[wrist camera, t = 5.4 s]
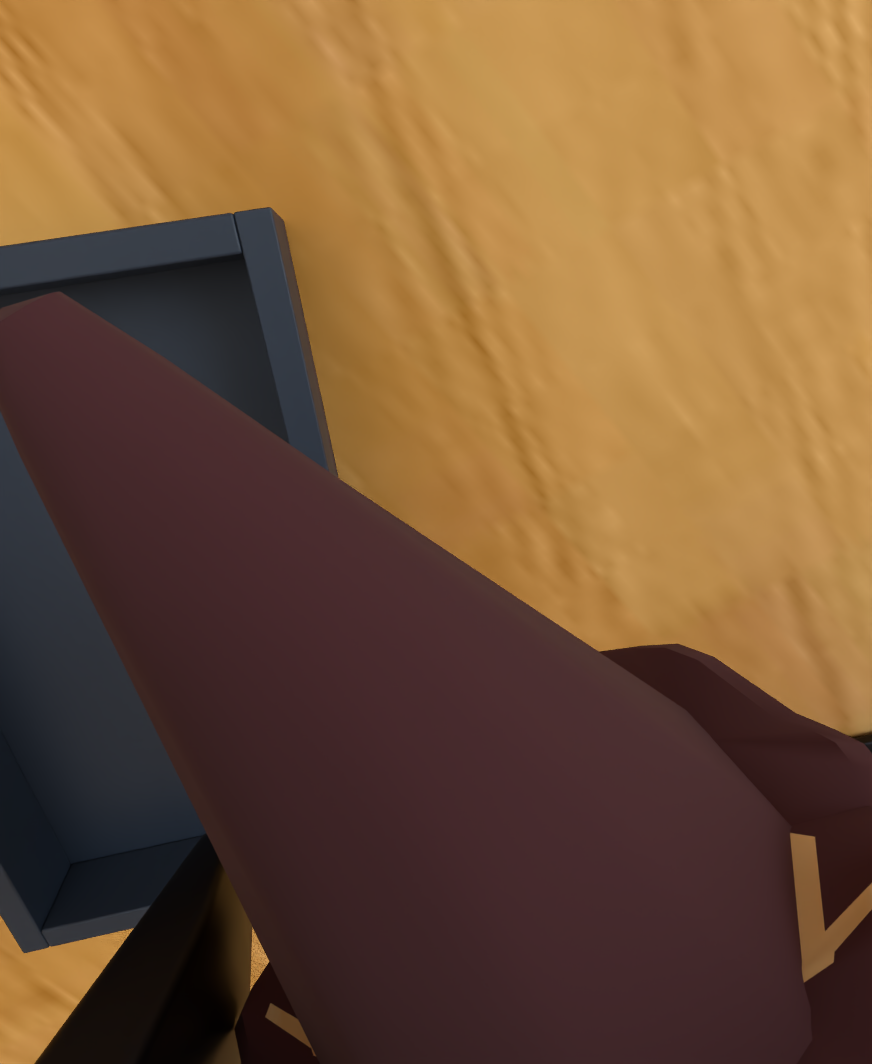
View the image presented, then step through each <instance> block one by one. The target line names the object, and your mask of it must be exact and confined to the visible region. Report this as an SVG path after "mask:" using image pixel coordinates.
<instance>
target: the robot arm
mask: <svg viewBox="0 0 872 1064" xmlns="http://www.w3.org/2000/svg"><path fill="white" fill-rule="evenodd" d="M853 739H855V740H857V741H859V742H861V743H863V744H865V746H866V747H867V748H868V749H869V750H870V752H871V753H872V734H870V735H866V736H862V737H857V738H853ZM251 947H252V925H251V923H250V921H249V919H248V917H247V915H246V913H245V910H244V908H243V906H242V904H241V902H240V900H239V898H238V896H237V894H236V892H235V890H234V888H233V886H232V884H231V882H230V880H229V878H228V876H227V874H226V872H225V870H224V868H223V866H222V864H221V862H220V860H219V858H218V856H217V854H216V852H215V849H214V847H213V845H212V843H211V841H210V839H209V837H208V835H207V833H205V834H204V835H203V836H202V837H201V838H200V839H199V841H198V842H197V843H196V845H195V846H194V848H193V849H192V850H191V852H190V853H189V854H188V856H187V857H186V858H185V860H184V861H183V862H182V864H181V865H180V867H179V868H178V869H177V871H176V872H175V873H174V875H173V876H172V877H171V879H170V880H169V881H168V883H167V884H166V886H165V887H164V888H163V890H162V891H161V892H160V894H159V895H158V896H157V898H156V899H155V901H154V902H153V903H152V905H151V906H150V907H149V909H148V910H147V911H146V913H145V914H144V915H143V917H142V918H141V920H140V921H139V922H138V924H137V925H136V926H135V928H134V929H133V930H132V932H131V933H130V934H129V936H128V937H127V939H126V940H125V941H124V943H123V944H122V945H121V947H120V948H119V949H118V951H117V952H116V954H115V955H114V956H113V958H112V959H111V960H110V962H109V963H108V964H107V966H106V967H105V968H104V970H103V971H102V973H101V974H100V975H99V977H98V978H97V979H96V981H95V982H94V983H93V985H92V986H91V987H90V989H89V990H88V992H87V993H86V994H85V996H84V997H83V998H82V1000H81V1001H80V1002H79V1004H78V1005H77V1006H76V1008H75V1009H74V1011H73V1012H72V1013H71V1015H70V1016H69V1017H68V1019H67V1020H66V1021H65V1023H64V1024H63V1026H62V1027H61V1028H60V1030H59V1031H58V1032H57V1034H56V1035H55V1036H54V1038H53V1039H52V1040H51V1042H50V1043H49V1045H48V1046H47V1047H46V1049H45V1050H44V1051H43V1053H42V1054H41V1055H40V1057H39V1058H38V1059H37V1061H36V1062H35V1064H241V1060H240V1055H239V1050H238V1045H237V1040H236V1035H235V1030H234V1028H235V1026H236V1023H237V1021H238V1019H239V1016H240V1014H241V1012H242V1009H243V1007H244V1004H245V1002H246V1000H247V998H248V996H249V994H250V976H251Z"/></svg>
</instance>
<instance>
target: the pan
mask: <svg viewBox="0 0 872 1064" xmlns="http://www.w3.org/2000/svg"><path fill="white" fill-rule="evenodd" d="M59 291H60V292H62V293H63V294H65V295H67V296H68V297H70V298H71V299H73V300H74V301H76V302H78V303H79V304H81V305H82V306H84V307H85V308H87V309H89V310H90V311H92V312H93V313H95V314H97V315H98V316H100V317H101V318H103V319H104V320H106V321H108V322H109V323H111V324H112V325H114V326H115V327H117V328H119V329H120V330H122V331H123V332H125V333H127V334H128V335H130V336H131V337H133V338H134V339H136V340H138V341H139V342H141V343H142V344H144V345H145V346H147V347H149V348H150V349H152V350H153V351H155V352H156V353H158V354H160V355H161V356H163V357H164V358H166V359H167V360H169V361H170V362H172V363H173V364H174V365H176V366H177V367H179V368H180V369H182V370H183V371H185V372H186V373H187V374H189V375H190V376H192V377H193V378H195V379H196V380H197V381H199V382H200V383H202V384H203V385H205V386H206V387H208V388H209V389H210V390H212V391H213V392H215V393H216V394H218V395H219V396H221V397H222V398H223V399H225V400H226V401H228V402H229V403H231V404H232V405H234V406H235V407H236V408H238V409H239V410H241V411H242V412H244V413H245V414H247V415H248V416H249V417H251V418H252V419H254V420H255V421H257V422H258V423H260V424H261V425H262V426H264V427H265V428H267V429H268V430H270V431H271V432H272V433H274V434H275V435H277V436H278V437H280V438H281V439H283V440H284V441H285V442H287V443H288V444H290V445H291V446H293V447H294V448H296V449H297V450H298V451H300V452H301V453H303V454H304V455H306V456H307V457H309V458H310V459H311V460H313V461H314V462H316V463H317V464H319V465H320V466H322V467H323V468H324V469H326V470H327V471H329V472H330V473H332V474H333V475H334V476H336V477H337V478H338V473H337V469H336V464H335V459H334V454H333V450H332V445H331V440H330V436H329V431H328V426H327V422H326V417H325V412H324V408H323V403H322V398H321V394H320V389H319V384H318V379H317V375H316V370H315V365H314V361H313V356H312V351H311V347H310V342H309V337H308V333H307V328H306V323H305V319H304V314H303V309H302V304H301V300H300V295H299V290H298V286H297V281H296V276H295V272H294V267H293V262H292V258H291V253H290V248H289V244H288V239H287V234H286V230H285V225H284V221H283V220H282V219H281V217H280V216H279V215H278V214H277V213H276V212H275V211H274V210H273V209H272V208H270V207H267V208H260V209H253V210H247V211H240V212H235V213H234V214H232V213H227V214H220V215H213V216H206V217H199V218H192V219H185V220H178V221H172V222H165V223H158V224H151V225H144V226H137V227H130V228H123V229H117V230H110V231H103V232H96V233H89V234H82V235H75V236H68V237H61V238H55V239H48V240H41V241H34V242H27V243H20V244H13V245H6V246H0V309H1V308H3V307H6V306H9V305H13V304H16V303H19V302H22V301H26V300H29V299H32V298H36V297H39V296H42V295H46V294H49V293H53V292H59ZM205 833H206V831H205V829H204V827H203V825H202V823H201V821H200V819H199V817H198V815H197V813H196V811H195V809H194V807H193V805H192V803H191V801H190V799H189V797H188V795H187V793H186V791H185V788H184V786H183V784H182V782H181V780H180V778H179V776H178V774H177V772H176V770H175V768H174V766H173V764H172V762H171V760H170V758H169V756H168V754H167V752H166V750H165V748H164V746H163V744H162V742H161V740H160V738H159V736H158V734H157V732H156V730H155V727H154V725H153V723H152V721H151V719H150V717H149V715H148V713H147V711H146V709H145V707H144V705H143V703H142V701H141V699H140V697H139V695H138V693H137V691H136V689H135V687H134V685H133V683H132V681H131V679H130V677H129V675H128V673H127V671H126V669H125V667H124V665H123V663H122V661H121V659H120V657H119V655H118V653H117V650H116V648H115V646H114V644H113V642H112V640H111V638H110V636H109V634H108V632H107V630H106V628H105V626H104V624H103V622H102V620H101V618H100V616H99V614H98V612H97V610H96V608H95V606H94V604H93V602H92V600H91V598H90V596H89V594H88V592H87V590H86V588H85V586H84V584H83V582H82V580H81V578H80V576H79V574H78V572H77V570H76V568H75V566H74V564H73V562H72V560H71V558H70V556H69V554H68V552H67V550H66V548H65V546H64V544H63V542H62V540H61V538H60V536H59V534H58V532H57V530H56V528H55V526H54V524H53V522H52V520H51V518H50V516H49V514H48V512H47V510H46V508H45V506H44V504H43V502H42V500H41V498H40V496H39V493H38V491H37V489H36V487H35V485H34V483H33V481H32V479H31V477H30V475H29V473H28V471H27V469H26V467H25V465H24V463H23V461H22V459H21V457H20V455H19V453H18V451H17V448H16V446H15V444H14V441H13V439H12V437H11V434H10V432H9V430H8V428H7V425H6V423H5V421H4V418H3V416H2V414H1V411H0V915H1V917H2V918H3V920H4V922H5V923H6V925H7V927H8V928H9V930H10V931H11V933H12V935H13V936H14V938H15V940H16V941H17V943H18V945H19V946H20V948H21V949H22V951H23V952H24V953H27V952H32V951H36V950H41V949H45V948H48V947H49V946H57V945H61V944H65V943H70V942H74V941H79V940H83V939H87V938H92V937H96V936H101V935H105V934H109V933H114V932H118V931H123V930H127V929H131V928H135V926H136V925H137V924H138V922H139V921H140V920H141V918H142V917H143V915H144V914H145V913H146V911H147V910H148V909H149V907H150V906H151V905H152V903H153V902H154V901H155V899H156V898H157V896H158V895H159V894H160V892H161V891H162V890H163V888H164V887H165V886H166V884H167V883H168V881H169V880H170V879H171V877H172V876H173V875H174V873H175V872H176V871H177V869H178V868H179V867H180V865H181V864H182V862H183V861H184V860H185V858H186V857H187V856H188V854H189V853H190V852H191V850H192V849H193V848H194V846H195V845H196V843H197V842H198V841H199V839H200V838H201V837H202V836H203V835H204V834H205Z"/></svg>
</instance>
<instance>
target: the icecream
mask: <svg viewBox="0 0 872 1064" xmlns="http://www.w3.org/2000/svg"><path fill="white" fill-rule="evenodd" d="M0 411H1V414H2V416H3V418H4V421H5V423H6V425H7V428H8V430H9V432H10V434H11V437H12V439H13V441H14V444H15V446H16V448H17V451H18V453H19V455H20V457H21V459H22V461H23V463H24V465H25V467H26V469H27V471H28V473H29V475H30V477H31V479H32V481H33V483H34V485H35V487H36V489H37V491H38V493H39V496H40V498H41V500H42V502H43V504H44V506H45V508H46V510H47V512H48V514H49V516H50V518H51V520H52V522H53V524H54V526H55V528H56V530H57V532H58V534H59V536H60V538H61V540H62V542H63V544H64V546H65V548H66V550H67V552H68V554H69V556H70V558H71V560H72V562H73V564H74V566H75V568H76V570H77V572H78V574H79V576H80V578H81V580H82V582H83V584H84V586H85V588H86V590H87V592H88V594H89V596H90V598H91V600H92V602H93V604H94V606H95V608H96V610H97V612H98V614H99V616H100V618H101V620H102V622H103V624H104V626H105V628H106V630H107V632H108V634H109V636H110V638H111V640H112V642H113V644H114V646H115V648H116V650H117V653H118V655H119V657H120V659H121V661H122V663H123V665H124V667H125V669H126V671H127V673H128V675H129V677H130V679H131V681H132V683H133V685H134V687H135V689H136V691H137V693H138V695H139V697H140V699H141V701H142V703H143V705H144V707H145V709H146V711H147V713H148V715H149V717H150V719H151V721H152V723H153V725H154V727H155V730H156V732H157V734H158V736H159V738H160V740H161V742H162V744H163V746H164V748H165V750H166V752H167V754H168V756H169V758H170V760H171V762H172V764H173V766H174V768H175V770H176V772H177V774H178V776H179V778H180V780H181V782H182V784H183V786H184V788H185V791H186V793H187V795H188V797H189V799H190V801H191V803H192V805H193V807H194V809H195V811H196V813H197V815H198V817H199V819H200V821H201V823H202V825H203V827H204V829H205V831H206V833H207V835H208V837H209V839H210V841H211V843H212V845H213V847H214V849H215V852H216V854H217V856H218V858H219V860H220V862H221V864H222V866H223V868H224V870H225V872H226V874H227V876H228V878H229V880H230V882H231V884H232V886H233V888H234V890H235V892H236V894H237V896H238V898H239V900H240V902H241V904H242V906H243V908H244V910H245V913H246V915H247V917H248V919H249V921H250V923H251V925H252V927H253V929H254V931H255V933H256V935H257V937H258V939H259V941H260V943H261V945H262V947H263V949H264V951H265V953H266V955H267V957H268V959H269V963H268V965H267V966H266V968H265V969H264V971H263V972H262V974H261V975H260V977H259V978H258V980H257V981H256V983H255V984H254V986H253V987H252V989H251V991H250V994H249V996H248V998H247V1000H246V1002H245V1004H244V1007H243V1009H242V1012H241V1014H240V1016H239V1019H238V1021H237V1023H236V1026H235V1028H234V1030H235V1035H236V1040H237V1045H238V1050H239V1055H240V1060H241V1064H872V753H871V752H870V750H869V749H868V748H867V747H866V746H865V744H863V743H861V742H859V741H857V740H855V739H853V738H851V737H849V736H847V735H845V734H843V733H841V732H839V731H837V730H835V729H832V728H830V727H827V726H825V725H823V724H820V723H818V722H815V721H813V720H811V719H808V718H806V717H803V716H801V715H799V714H796V713H795V712H793V711H792V710H790V709H789V708H787V707H786V706H784V705H783V704H781V703H780V702H779V701H777V700H776V699H774V698H773V697H771V696H770V695H768V694H767V693H765V692H764V691H763V690H761V689H760V688H758V687H757V686H755V685H754V684H752V683H751V682H750V681H748V680H747V679H745V678H744V677H742V676H741V675H739V674H738V673H736V672H735V671H734V670H732V669H731V668H729V667H728V666H726V665H725V664H723V663H722V662H720V661H719V660H718V659H716V658H715V657H713V656H710V655H707V654H704V653H702V652H699V651H696V650H693V649H691V648H688V647H685V646H683V645H680V644H666V645H648V646H637V647H630V648H623V649H615V650H608V651H601V652H598V651H597V650H595V649H594V648H592V647H591V646H589V645H588V644H586V643H585V642H583V641H581V640H580V639H578V638H577V637H575V636H574V635H572V634H571V633H569V632H568V631H566V630H565V629H563V628H562V627H560V626H559V625H557V624H556V623H554V622H553V621H551V620H550V619H548V618H547V617H545V616H544V615H542V614H541V613H539V612H538V611H536V610H535V609H533V608H532V607H530V606H529V605H527V604H526V603H524V602H523V601H521V600H520V599H518V598H517V597H515V596H514V595H512V594H511V593H509V592H508V591H506V590H505V589H503V588H502V587H500V586H499V585H497V584H496V583H494V582H493V581H491V580H490V579H488V578H487V577H485V576H484V575H482V574H481V573H479V572H478V571H476V570H475V569H473V568H472V567H470V566H469V565H467V564H466V563H464V562H463V561H461V560H460V559H458V558H457V557H455V556H454V555H452V554H451V553H449V552H448V551H446V550H445V549H443V548H442V547H440V546H439V545H437V544H436V543H434V542H433V541H431V540H430V539H428V538H427V537H425V536H424V535H422V534H421V533H419V532H418V531H416V530H415V529H413V528H412V527H410V526H409V525H407V524H406V523H404V522H403V521H401V520H400V519H398V518H397V517H395V516H394V515H392V514H391V513H389V512H388V511H386V510H385V509H383V508H382V507H380V506H379V505H377V504H376V503H374V502H373V501H371V500H370V499H368V498H367V497H365V496H364V495H362V494H361V493H359V492H358V491H356V490H355V489H353V488H352V487H350V486H349V485H347V484H346V483H345V482H343V481H342V480H340V479H339V478H337V477H336V476H334V475H333V474H332V473H330V472H329V471H327V470H326V469H324V468H323V467H322V466H320V465H319V464H317V463H316V462H314V461H313V460H311V459H310V458H309V457H307V456H306V455H304V454H303V453H301V452H300V451H298V450H297V449H296V448H294V447H293V446H291V445H290V444H288V443H287V442H285V441H284V440H283V439H281V438H280V437H278V436H277V435H275V434H274V433H272V432H271V431H270V430H268V429H267V428H265V427H264V426H262V425H261V424H260V423H258V422H257V421H255V420H254V419H252V418H251V417H249V416H248V415H247V414H245V413H244V412H242V411H241V410H239V409H238V408H236V407H235V406H234V405H232V404H231V403H229V402H228V401H226V400H225V399H223V398H222V397H221V396H219V395H218V394H216V393H215V392H213V391H212V390H210V389H209V388H208V387H206V386H205V385H203V384H202V383H200V382H199V381H197V380H196V379H195V378H193V377H192V376H190V375H189V374H187V373H186V372H185V371H183V370H182V369H180V368H179V367H177V366H176V365H174V364H173V363H172V362H170V361H169V360H167V359H166V358H164V357H163V356H161V355H160V354H158V353H156V352H155V351H153V350H152V349H150V348H149V347H147V346H145V345H144V344H142V343H141V342H139V341H138V340H136V339H134V338H133V337H131V336H130V335H128V334H127V333H125V332H123V331H122V330H120V329H119V328H117V327H115V326H114V325H112V324H111V323H109V322H108V321H106V320H104V319H103V318H101V317H100V316H98V315H97V314H95V313H93V312H92V311H90V310H89V309H87V308H85V307H84V306H82V305H81V304H79V303H78V302H76V301H74V300H73V299H71V298H70V297H68V296H67V295H65V294H63V293H62V292H60V291H59V292H53V293H49V294H46V295H42V296H39V297H36V298H32V299H29V300H26V301H22V302H19V303H16V304H13V305H9V306H6V307H3V308H1V309H0Z"/></svg>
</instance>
